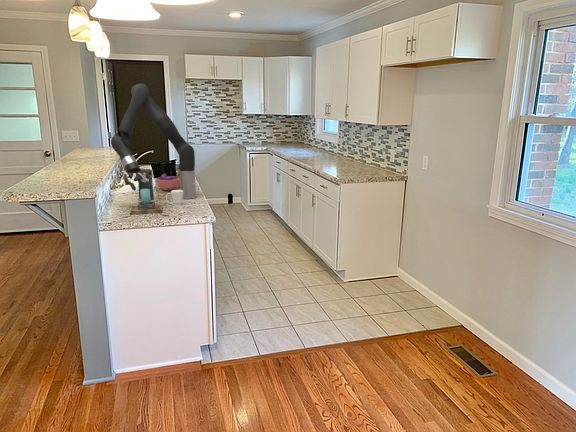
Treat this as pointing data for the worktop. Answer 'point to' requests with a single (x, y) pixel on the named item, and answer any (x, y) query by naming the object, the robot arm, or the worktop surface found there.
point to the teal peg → (145, 196)
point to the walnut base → (146, 208)
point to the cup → (176, 197)
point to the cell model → (168, 182)
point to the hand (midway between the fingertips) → (142, 188)
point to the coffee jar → (143, 185)
